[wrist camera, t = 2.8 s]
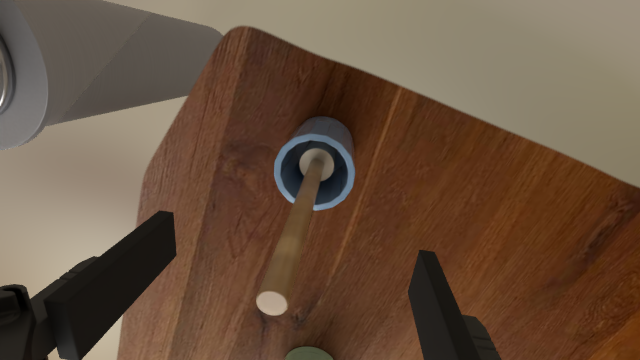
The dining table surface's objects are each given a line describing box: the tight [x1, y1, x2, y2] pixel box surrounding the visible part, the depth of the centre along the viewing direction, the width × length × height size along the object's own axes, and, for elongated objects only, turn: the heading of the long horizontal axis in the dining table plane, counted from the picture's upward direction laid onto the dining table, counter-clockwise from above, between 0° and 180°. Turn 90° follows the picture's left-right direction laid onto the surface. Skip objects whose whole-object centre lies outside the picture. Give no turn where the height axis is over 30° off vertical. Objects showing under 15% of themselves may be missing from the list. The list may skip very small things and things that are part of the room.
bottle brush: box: [256, 140, 337, 315], centre depth 24 cm, size 3×3×24 cm
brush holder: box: [274, 116, 355, 210], centre depth 31 cm, size 7×7×9 cm
